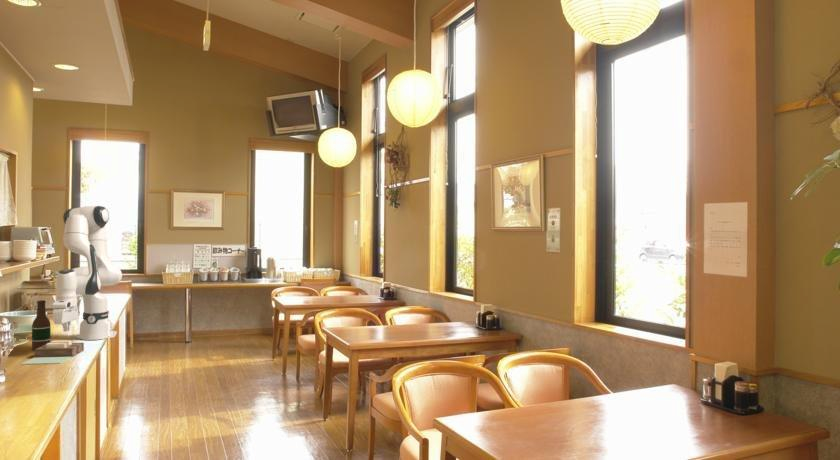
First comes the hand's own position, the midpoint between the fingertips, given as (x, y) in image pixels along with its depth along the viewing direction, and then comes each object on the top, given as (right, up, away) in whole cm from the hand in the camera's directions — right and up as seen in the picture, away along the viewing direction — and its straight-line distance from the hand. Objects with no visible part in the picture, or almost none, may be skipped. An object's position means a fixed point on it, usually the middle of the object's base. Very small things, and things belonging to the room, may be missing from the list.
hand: (66, 331), depth 289 cm
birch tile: (+1, -6, -9) cm, 10 cm away
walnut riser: (+1, -10, -7) cm, 12 cm away
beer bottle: (-15, -10, +4) cm, 18 cm away
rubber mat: (+4, -10, -21) cm, 23 cm away
